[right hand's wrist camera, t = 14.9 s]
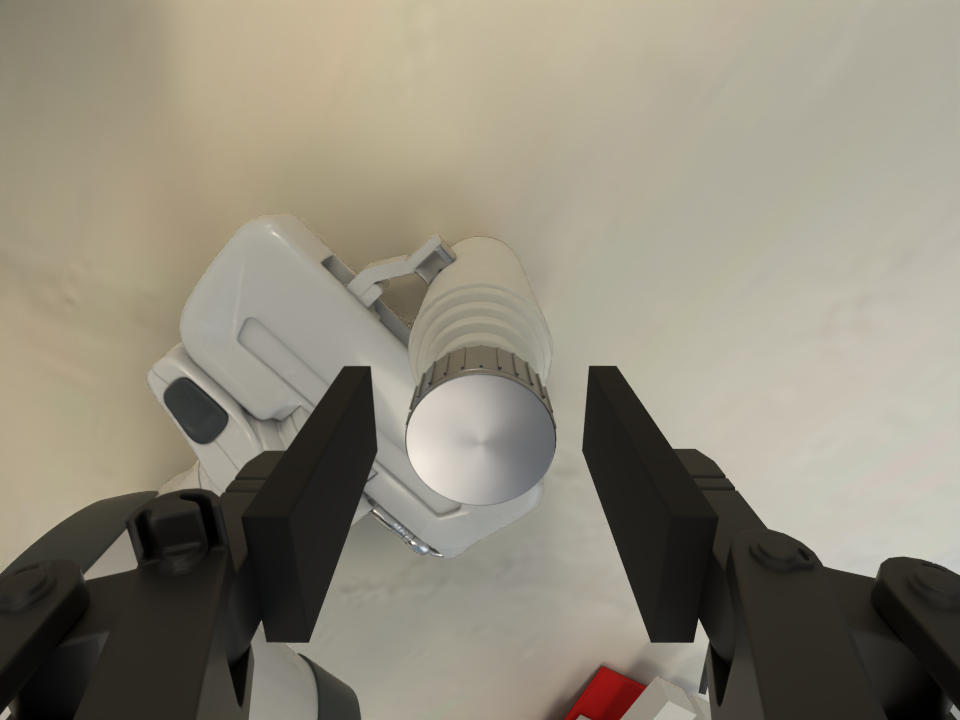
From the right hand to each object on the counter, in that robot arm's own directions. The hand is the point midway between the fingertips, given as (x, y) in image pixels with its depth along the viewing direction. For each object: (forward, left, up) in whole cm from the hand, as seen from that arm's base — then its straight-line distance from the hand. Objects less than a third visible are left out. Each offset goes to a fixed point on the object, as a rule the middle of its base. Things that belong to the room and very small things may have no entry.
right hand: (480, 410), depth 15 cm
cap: (0, 0, +1) cm, 1 cm away
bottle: (0, 0, -17) cm, 17 cm away
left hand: (-1, +1, -11) cm, 11 cm away
